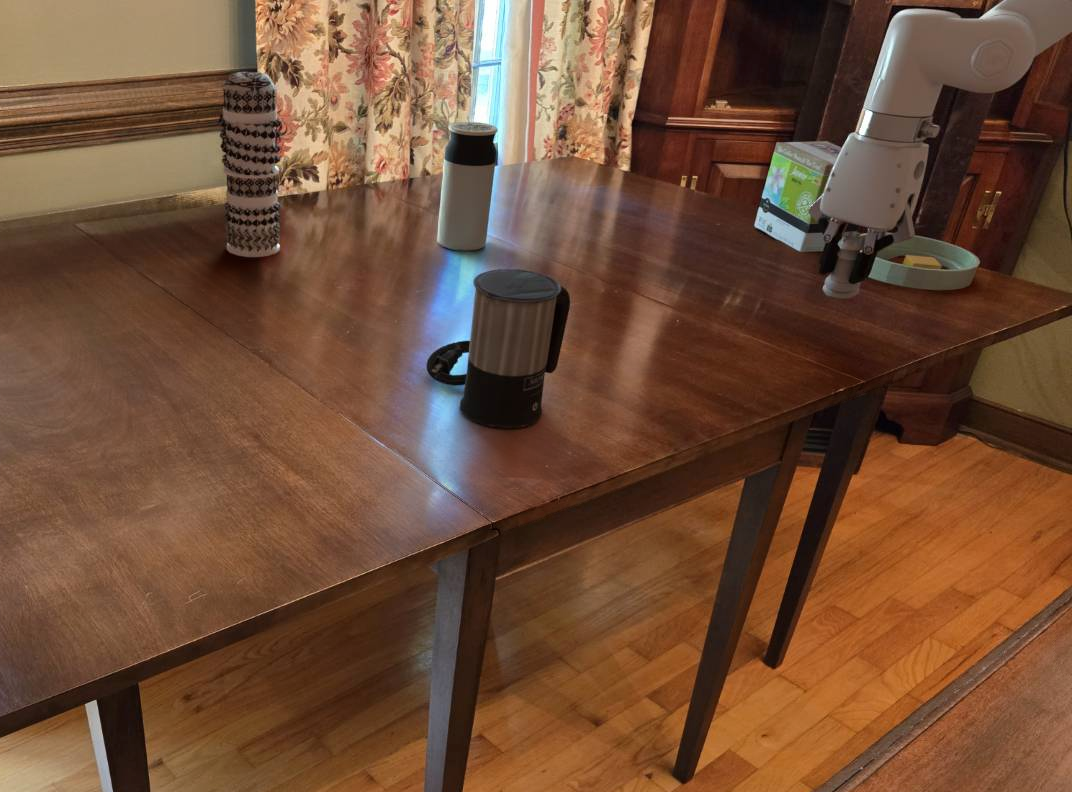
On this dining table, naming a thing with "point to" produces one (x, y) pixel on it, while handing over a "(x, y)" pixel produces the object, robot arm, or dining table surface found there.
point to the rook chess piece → (844, 268)
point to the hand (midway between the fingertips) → (841, 275)
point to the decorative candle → (251, 164)
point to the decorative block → (922, 262)
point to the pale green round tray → (922, 278)
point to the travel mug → (467, 186)
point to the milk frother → (507, 347)
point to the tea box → (797, 193)
